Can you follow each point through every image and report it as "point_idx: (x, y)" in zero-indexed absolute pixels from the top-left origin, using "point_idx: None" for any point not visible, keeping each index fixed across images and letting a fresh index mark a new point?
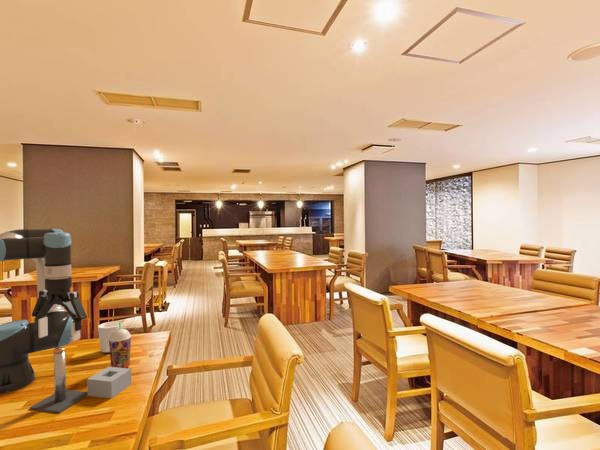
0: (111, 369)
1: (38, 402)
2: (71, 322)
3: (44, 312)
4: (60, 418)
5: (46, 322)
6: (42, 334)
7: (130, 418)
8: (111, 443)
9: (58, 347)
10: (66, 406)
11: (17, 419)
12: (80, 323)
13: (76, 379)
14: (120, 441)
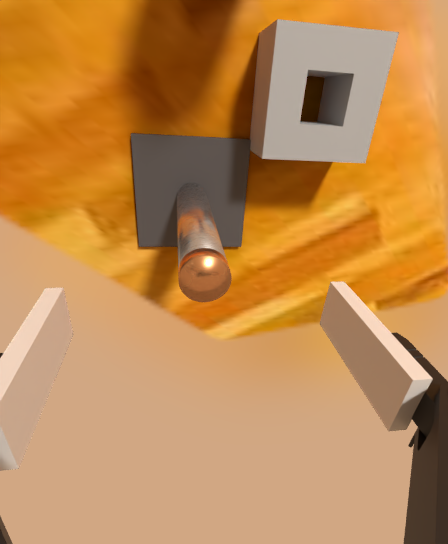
0: (310, 52)
1: (137, 221)
2: (385, 426)
3: (5, 532)
4: (259, 260)
5: (23, 371)
6: (64, 334)
7: (426, 229)
8: (416, 301)
9: (184, 268)
10: (240, 224)
11: (156, 282)
12: (432, 376)
13: (99, 28)
14: (431, 294)
